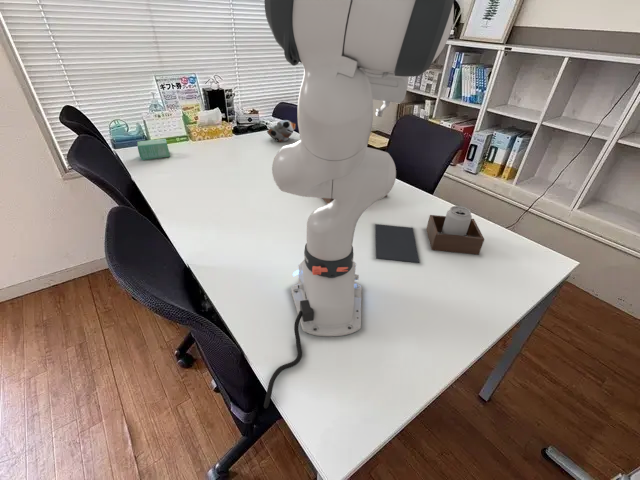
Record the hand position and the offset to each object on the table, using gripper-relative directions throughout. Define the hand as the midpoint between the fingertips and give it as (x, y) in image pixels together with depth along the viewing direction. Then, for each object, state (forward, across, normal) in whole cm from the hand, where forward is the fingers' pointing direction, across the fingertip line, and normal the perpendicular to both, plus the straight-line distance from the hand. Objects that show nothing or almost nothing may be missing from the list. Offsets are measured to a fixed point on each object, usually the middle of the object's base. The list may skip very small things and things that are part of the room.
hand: (362, 113), depth 92 cm
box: (+57, -83, +65) cm, 120 cm away
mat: (+35, +18, -14) cm, 42 cm away
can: (+33, +36, -13) cm, 51 cm away
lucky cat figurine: (+54, -20, +96) cm, 112 cm away
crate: (+33, +36, -13) cm, 51 cm away
